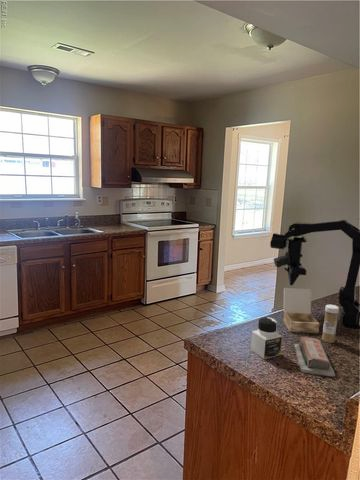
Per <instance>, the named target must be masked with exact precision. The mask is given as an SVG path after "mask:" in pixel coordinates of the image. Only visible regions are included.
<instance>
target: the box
mask: <svg viewBox="0 0 360 480" xmlns="http://www.w3.org/2000/svg"><path fill="white" fill-rule="evenodd" d="M283 324H284V325H285V327H287V329H288V330H289V332H290V333H307V334H319V331H320V330H319V329H320V322H318V320H317V319H316V318H315V317H314V315H313V314H312V313H311V314H305V313H285V312H283Z"/></svg>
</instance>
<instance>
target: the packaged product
mask: <svg viewBox="0 0 360 480" xmlns="http://www.w3.org/2000/svg"><path fill="white" fill-rule="evenodd" d="M293 345H294V350H295V354H296V358H297V362H298V365H299V366H298V367H299V368H300V372H301V373H305V374H312V375H319V376H327V377H335V376H336V373H335V371H334V369H333V367H332V364H331V362H330V360H329V358H328V356H327V353H326V351H325V349H324V346H323V345H322V342H321V340H320V339H318V338H314V337H309V336H308V337H305V336H301V337H300V339H299V343H297V342H296V343H295V342H294V343H293Z"/></svg>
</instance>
